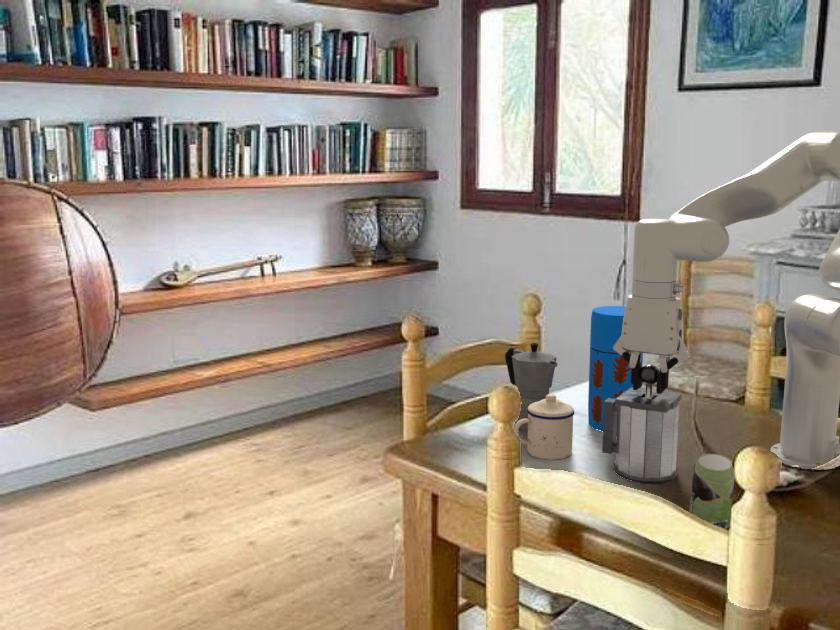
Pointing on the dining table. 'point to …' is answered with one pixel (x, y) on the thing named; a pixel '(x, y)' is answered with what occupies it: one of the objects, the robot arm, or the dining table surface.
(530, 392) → the coffeepot
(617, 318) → the thermos
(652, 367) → the plunger
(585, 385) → the dining table surface
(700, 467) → the beverage can
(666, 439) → the press pot
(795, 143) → the robot arm
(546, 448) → the teacup with lid
